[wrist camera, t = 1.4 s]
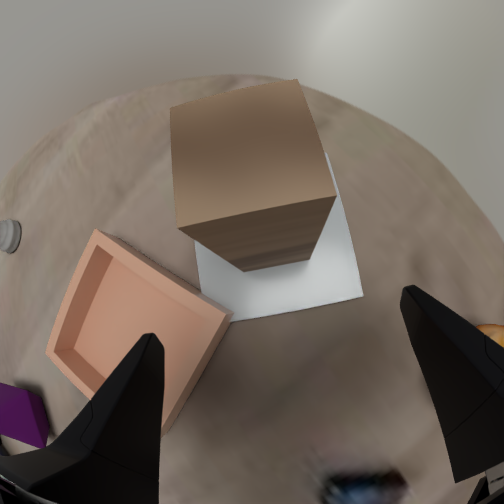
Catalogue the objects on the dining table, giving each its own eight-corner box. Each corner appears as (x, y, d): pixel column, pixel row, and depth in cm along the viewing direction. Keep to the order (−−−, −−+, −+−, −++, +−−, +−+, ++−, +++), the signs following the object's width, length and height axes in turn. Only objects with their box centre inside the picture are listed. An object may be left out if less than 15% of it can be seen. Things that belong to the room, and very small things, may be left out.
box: (168, 431, 21) (150, 448, 17) (70, 349, 23) (45, 352, 20) (236, 312, 22) (226, 314, 18) (119, 238, 24) (95, 228, 21)
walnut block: (309, 259, 21) (337, 195, 8) (243, 272, 21) (177, 228, 9) (295, 197, 22) (297, 78, 9) (233, 210, 22) (169, 107, 10)
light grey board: (360, 296, 21) (363, 296, 20) (210, 324, 22) (206, 325, 21) (325, 158, 23) (326, 152, 22) (191, 185, 24) (187, 181, 23)
